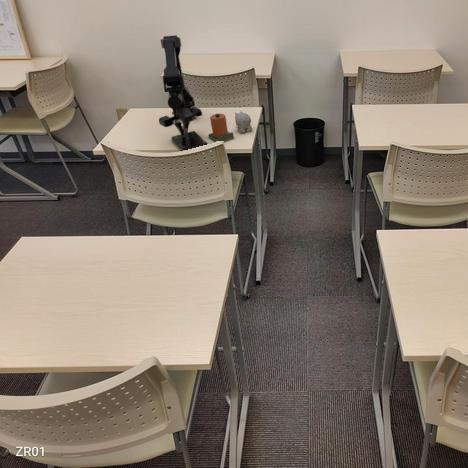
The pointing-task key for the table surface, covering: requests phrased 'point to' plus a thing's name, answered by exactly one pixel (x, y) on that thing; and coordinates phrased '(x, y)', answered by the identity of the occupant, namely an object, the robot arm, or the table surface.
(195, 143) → the hob plate
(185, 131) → the grey and red block
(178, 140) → the hob
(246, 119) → the round bodied animal figurine
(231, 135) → the rack
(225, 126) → the pot
